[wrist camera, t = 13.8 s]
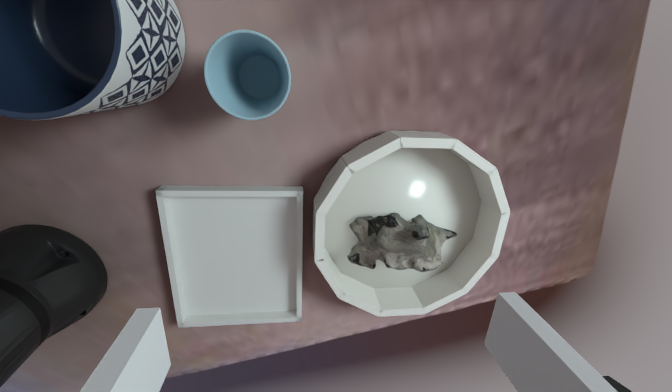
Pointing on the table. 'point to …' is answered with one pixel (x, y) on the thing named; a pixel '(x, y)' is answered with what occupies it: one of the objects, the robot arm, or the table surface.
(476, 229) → the bowl
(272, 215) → the tray
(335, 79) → the table surface
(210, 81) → the cup
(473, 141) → the table surface
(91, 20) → the planter
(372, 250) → the decorative stone
